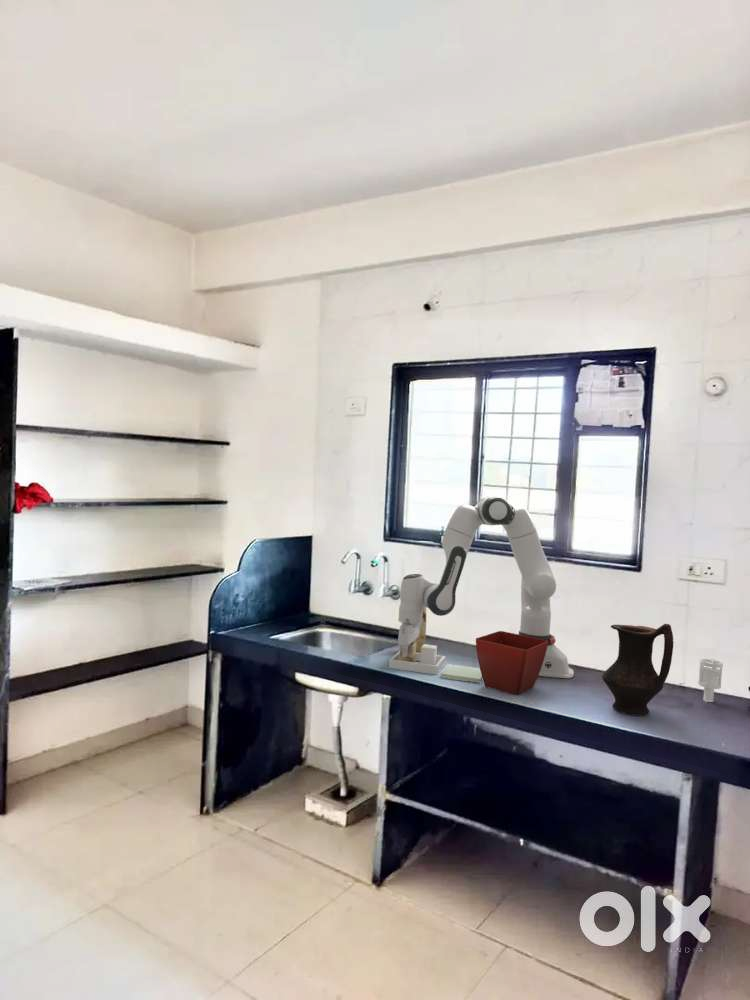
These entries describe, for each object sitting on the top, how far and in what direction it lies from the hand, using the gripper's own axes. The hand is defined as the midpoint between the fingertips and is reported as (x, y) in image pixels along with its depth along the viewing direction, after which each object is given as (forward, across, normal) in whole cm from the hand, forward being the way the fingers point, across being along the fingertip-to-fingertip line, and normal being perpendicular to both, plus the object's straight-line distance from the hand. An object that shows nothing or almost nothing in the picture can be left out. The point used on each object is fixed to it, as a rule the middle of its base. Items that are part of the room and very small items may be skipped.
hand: (407, 653), depth 259 cm
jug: (+4, -18, -79) cm, 81 cm away
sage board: (+4, -4, -22) cm, 23 cm away
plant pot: (+4, -11, -39) cm, 41 cm away
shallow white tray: (+4, 0, -4) cm, 6 cm away
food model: (+4, +18, +2) cm, 19 cm away
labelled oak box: (+4, 0, 0) cm, 4 cm away
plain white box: (+4, 0, -8) cm, 9 cm away
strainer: (+4, +7, -105) cm, 105 cm away
